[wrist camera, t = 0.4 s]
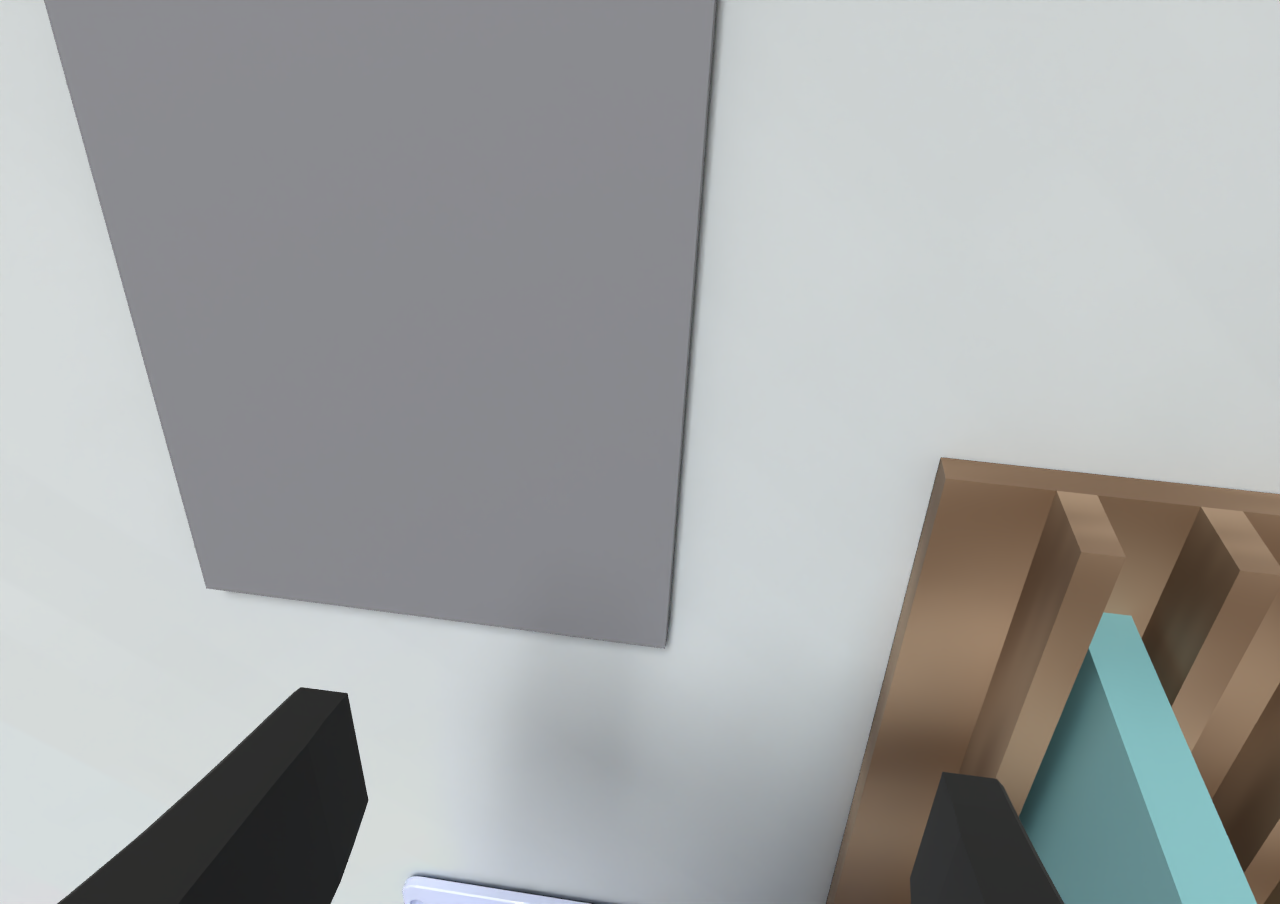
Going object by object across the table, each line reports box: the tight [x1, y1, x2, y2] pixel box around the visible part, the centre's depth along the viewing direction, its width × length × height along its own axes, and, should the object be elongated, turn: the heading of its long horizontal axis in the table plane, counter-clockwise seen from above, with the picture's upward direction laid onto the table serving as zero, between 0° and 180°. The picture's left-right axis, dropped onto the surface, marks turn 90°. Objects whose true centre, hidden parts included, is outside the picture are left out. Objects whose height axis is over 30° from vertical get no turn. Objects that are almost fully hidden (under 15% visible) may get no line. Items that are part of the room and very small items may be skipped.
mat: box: [44, 0, 717, 649], centre depth 20 cm, size 16×12×1 cm
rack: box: [826, 458, 1280, 904], centre depth 23 cm, size 18×15×3 cm
